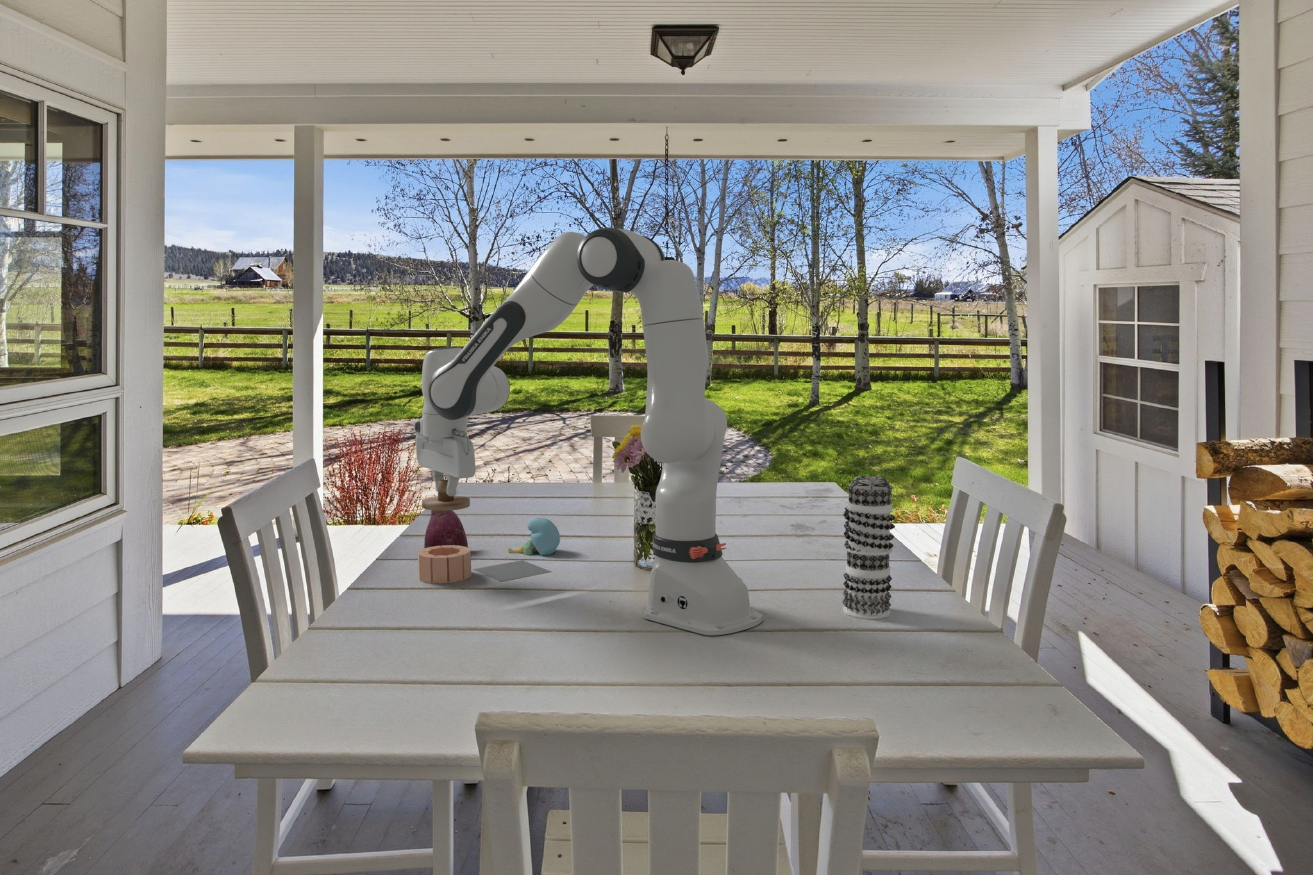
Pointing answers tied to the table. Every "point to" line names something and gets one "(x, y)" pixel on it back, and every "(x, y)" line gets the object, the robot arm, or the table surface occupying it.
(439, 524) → the vegetable
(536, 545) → the toy flower bud
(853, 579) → the decorative candle
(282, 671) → the table surface
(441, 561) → the faceted hollow tube
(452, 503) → the lid
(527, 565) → the mat
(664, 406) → the robot arm
